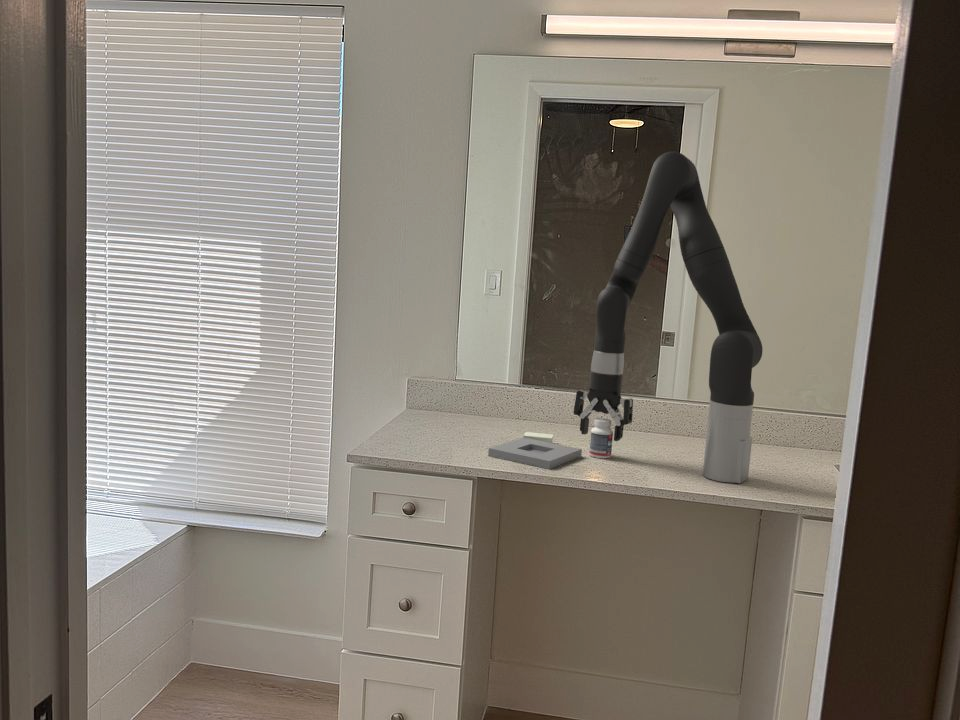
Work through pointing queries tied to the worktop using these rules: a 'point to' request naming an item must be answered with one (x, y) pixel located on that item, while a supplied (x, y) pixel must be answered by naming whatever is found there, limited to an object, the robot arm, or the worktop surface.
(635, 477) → the worktop surface
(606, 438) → the pill bottle
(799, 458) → the worktop surface
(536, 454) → the grey square slab
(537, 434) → the soap bar
